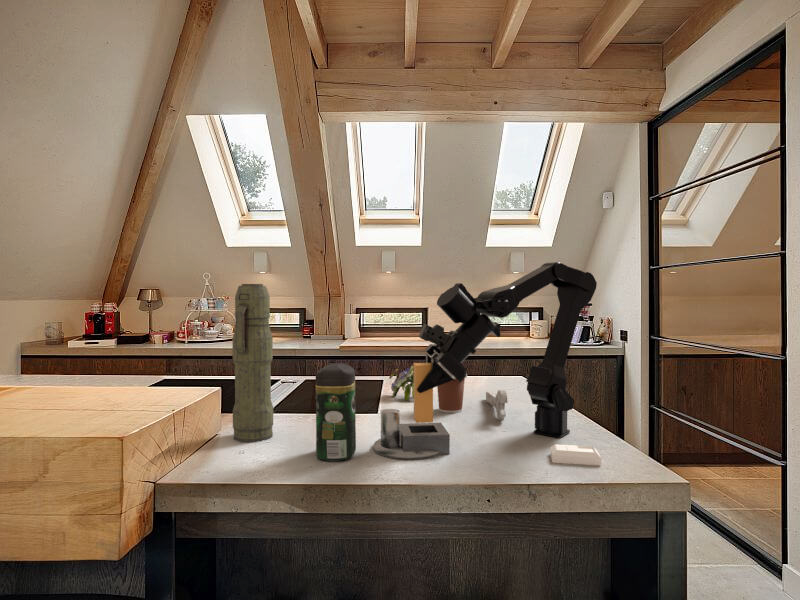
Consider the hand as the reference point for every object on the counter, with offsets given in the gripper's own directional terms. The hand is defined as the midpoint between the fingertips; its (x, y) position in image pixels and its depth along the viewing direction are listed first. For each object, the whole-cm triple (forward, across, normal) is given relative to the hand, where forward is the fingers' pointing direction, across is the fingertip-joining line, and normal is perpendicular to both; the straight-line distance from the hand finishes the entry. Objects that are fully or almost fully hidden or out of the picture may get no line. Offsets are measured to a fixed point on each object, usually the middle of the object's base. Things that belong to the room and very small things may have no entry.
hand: (416, 389), depth 109 cm
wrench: (-9, -30, +28) cm, 42 cm away
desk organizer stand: (+10, 0, +8) cm, 13 cm away
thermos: (+34, -12, -17) cm, 40 cm away
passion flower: (+6, -51, +12) cm, 52 cm away
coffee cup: (-1, -32, +19) cm, 38 cm away
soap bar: (-12, +11, +31) cm, 35 cm away
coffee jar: (+21, +3, -3) cm, 21 cm away
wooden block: (+4, 0, +6) cm, 7 cm away
